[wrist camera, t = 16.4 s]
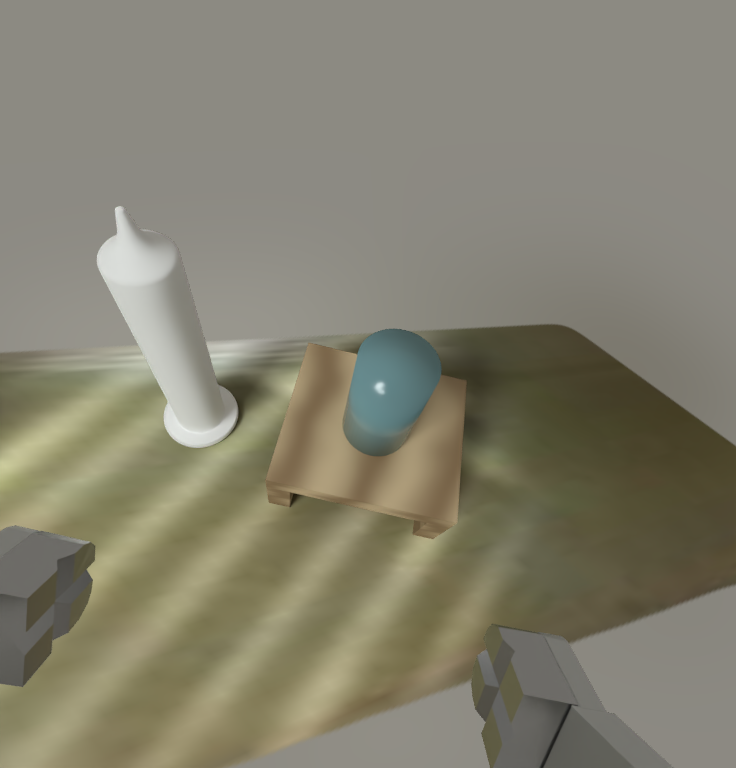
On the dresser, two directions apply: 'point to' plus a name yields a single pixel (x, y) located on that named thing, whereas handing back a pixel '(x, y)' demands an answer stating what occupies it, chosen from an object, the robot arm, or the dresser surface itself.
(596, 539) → the dresser surface
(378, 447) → the teal domed cylinder
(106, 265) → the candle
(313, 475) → the small wooden stool
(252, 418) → the dresser surface
